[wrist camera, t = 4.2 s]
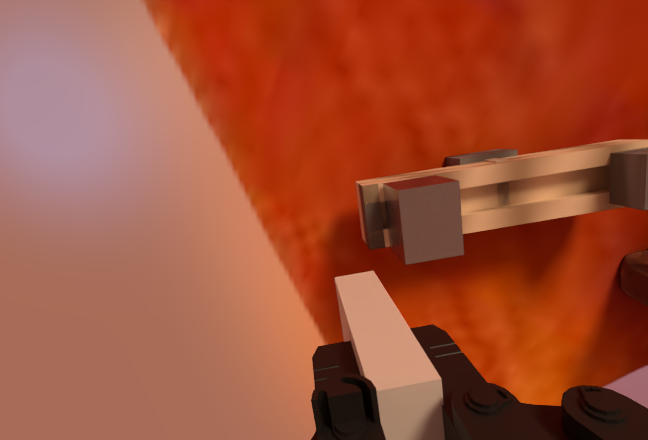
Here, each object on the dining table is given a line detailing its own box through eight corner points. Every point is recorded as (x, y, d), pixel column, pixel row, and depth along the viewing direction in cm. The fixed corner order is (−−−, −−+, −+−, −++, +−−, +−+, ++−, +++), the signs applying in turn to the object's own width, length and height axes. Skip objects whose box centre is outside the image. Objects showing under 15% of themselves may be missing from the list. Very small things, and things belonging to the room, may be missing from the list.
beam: (357, 235, 35) (379, 268, 26) (349, 172, 33) (369, 184, 24) (589, 197, 36) (689, 216, 27) (590, 134, 34) (695, 132, 25)
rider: (386, 243, 29) (405, 264, 24) (379, 181, 28) (397, 190, 23) (434, 235, 30) (464, 254, 25) (429, 173, 29) (459, 180, 23)
